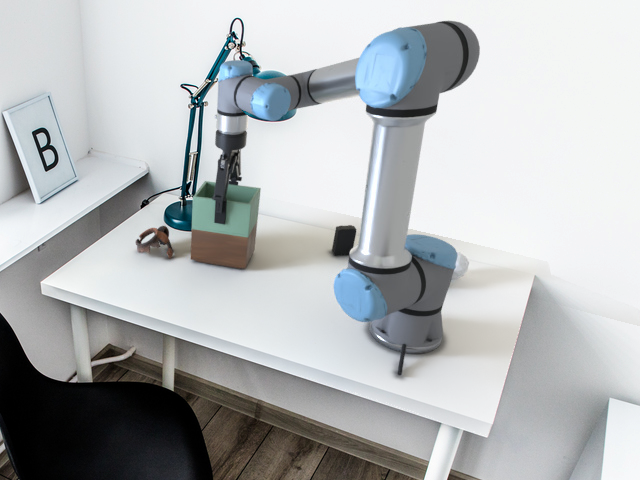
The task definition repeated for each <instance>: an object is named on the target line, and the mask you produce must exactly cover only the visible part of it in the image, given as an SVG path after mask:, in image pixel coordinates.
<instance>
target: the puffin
mask: <svg viewBox="0 0 640 480" xmlns="http://www.w3.org/2000/svg"><path fill="white" fill-rule="evenodd" d="M456 252H457V260H456V268H455V269H454V272H453V275H452V278H451V280H457V279H459V278H461V277H464V276H465V274H466V273H467V271H468V270H469V265H470V261H469V260H468V258H467V256H466V255H464V254H463V253H461V252H459V251H456Z"/></svg>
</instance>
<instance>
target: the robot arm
mask: <svg viewBox="0 0 640 480" xmlns="http://www.w3.org/2000/svg"><path fill="white" fill-rule="evenodd" d="M480 49H481V47H480V41H479V39H478V37H477V35H476V33H475V32H474V30H473V29H472V28H470V27H469V25H466V24H465V23H463V22H460V21H455V20H441V21H437V22H432V23H424V24H418V25H410V26H404V27H397V28H395V29H392V30H389V31H386V32H383V33H381V34H379V35H377V36H376V37H374V38H373V39H372V40H371V41H370V42H369V43H368V44H367V45H365V48H364V49H363V50H362V52H361V54H360V56H359V57H356V58H352V59H347V60H344V61H342V62H338V63H337V62H336V63H333V64H330V65H325V66H322V67H319V68H314V69H310V70H307V71H303V72H298V73H293V74H289V75H288V74H287V75H284V76H278V77H277V76H276V77H273V78H268V79H263V78H260V77H257V76H255V75H253V74H254V72H253V71H254V70H253V64H252V63H251V62H250V61H247V60H240V59H233V60H226V61H224V62H222V63H221V64H220V67H219V74H218V79H217V104H216V105H217V106H216V114H214V119H215V120H216V126H215V127H216V131H215V138H214V139H215V140H214V145H215V146H216V148H218V149H219V150H222V154H220V156H219V158H218V160H217V169H216V175H215V176H216V178H215V182H216V183H215V190H214V197H212V200H215V218H214V223H218V224H225V220H226V206H227V199H226V195H227V190H228V185H229V184H233V185H239V182H242V180H243V177H242V176H241V175H242V149H244V148H245V147H246V146H247V139H248V138H247V137H248V131H247V130H248V127H249V116H250V115H249V116H248V115H246V114H245V113H244V112H243V111H246V112H248V113H249V114H251V115H253V116H255V117H257V118H259V119H262V120H266V121H271V122H274V121H278V120H280V119H281V118H282V117H283V116H285V115H286V114H287V112H289V111H293V110H298V109H303V108H307V107H313V106H314V107H315V106H319V105H322V104H325V103H331V102H332V103H333V102H336V101H341V100H342V101H343V100H347V99H352V98H357V97H359V98H360V100H361V101H362V102H363V103H365V114H366V115H367V116H368V117H369V118H370V119H371V121H372V130H371V136H370V137H371V139H370V146H369V153H368V154H369V155H368V161H367V162H368V163H367V172H366V179H365V189H364V196H363V205H362V212H361V219H360V220H361V222H360V230H359V237H358V238H359V239H358V244H356V245H354V246H353V248H352V249H351V250H350V253H349V255H348V261H347V262H348V263H347V268H343V269H342V270H340V271H339V272H338V273H337V274H336V275H335V278H334V280H333V292H334V296H335V299H336V302H337V304H338V305H339V306H340V308H341V310H342V311H343V312H344V313H345V314H346V315H347V316H348V317H350V318H351V319H352V320H355V321H356V322H360V323H369V332H370V335H371V337H373V339H374V340H375V341H376V342H378V343H379V344H380V345H382V346H383V347H386V348H388V349H390V350H393V351H396V352H400V355H399V362H398V367H397V375H398V376H402V374H403V368H404V361H405V355H406V354H425V353H430V352H432V351H434V350H436V349H438V347H440V346H441V343H442V340H443V337H444V328H443V327H444V325H443V317H442V315H443V314H442V309H443V306H444V303H445V300H446V297H447V295H448V290H449V287H450V284H451V281H452V279H451V278H452V275H453V272H454V269H455V268H456V260H457V252H458V251H457V250H456V248H455V247H454V246H453V245H452V244H450V243H449V242H447V241H445V240H443V239H441V238H438V237H434V236H431V235H426V234H417V233H415V234H414V233H413V234H408V232H409V227H410V226H409V225H410V218H411V213H412V208H413V201H414V194H415V187H416V181H417V176H418V170H419V163H420V158H421V151H422V145H423V138H424V132H425V125H426V122H428V121H429V120H430V119H431V118H432V117H434V116H435V115H436V114H437V111H438V105H439V98H440V94H443V93H447V92H450V91H452V90H454V89H456V88H459V87H460V86H461V85H462V84H464V83H465V82H466V81H467V80H468V79H469V78H470V77H471V76H472V74H473V73H474V71H475V70H476V68H477V66H478V62H479V60H480V59H479V58H480V54H481V53H480V52H481V51H480ZM242 110H243V111H242Z"/></svg>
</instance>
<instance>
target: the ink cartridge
mask: <svg viewBox="0 0 640 480" xmlns="http://www.w3.org/2000/svg"><path fill="white" fill-rule="evenodd" d="M356 236H357V227H355V225H353V224H348V225H338V226H337V225H336V226H335V231H334V236H333V241H332V247H331V252H332V254H333V256H335V257H343V256H349V253H350V250H351V249H352V248H353V247H355V241H356Z"/></svg>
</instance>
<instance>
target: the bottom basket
mask: <svg viewBox="0 0 640 480" xmlns="http://www.w3.org/2000/svg"><path fill="white" fill-rule="evenodd" d="M257 229H258V221H257V222H256V224H255V225H254V227H253V229H252V231H251V233H250V235H249V237H248V238H247V237H241V236H234V235H228V234H221V233H215V232H208V231H201V230H195V229H192V228H191V234H190V235H191V238H190V260H192V261H195V262H197V263H203V264H208V265H214V266H220V267H227V268H232V269H233V268H234V269H238V270H242V269H246V268H247V266H248V264H249V262H250V259H251V258H252V256H253V254H254V252H255V249H256V239H257Z"/></svg>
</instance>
